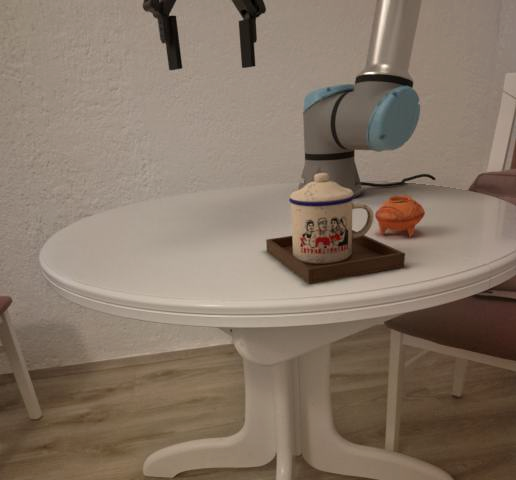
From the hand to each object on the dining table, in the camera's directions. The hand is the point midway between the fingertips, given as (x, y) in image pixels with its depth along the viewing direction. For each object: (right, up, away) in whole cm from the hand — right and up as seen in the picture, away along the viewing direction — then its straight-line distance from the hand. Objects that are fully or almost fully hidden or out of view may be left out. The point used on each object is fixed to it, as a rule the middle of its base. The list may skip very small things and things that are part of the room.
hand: (213, 68), depth 75 cm
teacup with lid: (+18, -30, -4) cm, 35 cm away
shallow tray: (+18, -30, -3) cm, 35 cm away
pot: (+31, -25, +6) cm, 40 cm away
